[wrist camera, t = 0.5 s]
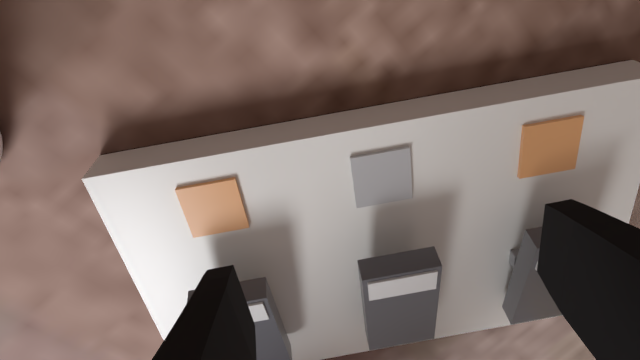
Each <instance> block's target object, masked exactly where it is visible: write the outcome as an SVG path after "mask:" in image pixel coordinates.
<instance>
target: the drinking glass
mask: <svg viewBox="0 0 640 360" xmlns="http://www.w3.org/2000/svg"><path fill="white" fill-rule="evenodd" d="M2 152H3V142H2V136H1V132H0V161H1V158H2Z"/></svg>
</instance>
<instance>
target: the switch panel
mask: <svg viewBox="0 0 640 360" xmlns="http://www.w3.org/2000/svg"><path fill="white" fill-rule="evenodd" d="M82 180H83V182H84V184H85V186H86V188H87V190H88V192H89V194H90V196H91V198H92V200H93V202H94V204H95V206H96V208H97V210H98V212H99V214H100V216H101V218H102V220H103V222H104V224H105V226H106V228H107V230H108V232H109V234H110V236H111V238H112V240H113V242H114V243H115V245H116V247H117V249H118V251H119V253H120V255H121V257H122V259H123V261H124V263H125V265H126V267H127V269H128V271H129V273H130V275H131V277H132V279H133V281H134V283H135V285H136V287H137V289H138V291H139V293H140V295H141V297H142V299H143V301H144V303H145V304H146V306H147V308H148V310H149V312H150V314H151V316H152V318H153V320H154V322H155V324H156V326H157V328H158V330H159V332H160V334H161V336H162V338H163V340H165V338H166V337H167V335H168V333H169V332H170V330H171V329H172V327H173V326H174V324H175V322H176V321H177V319H178V317H179V316H180V314H181V312H182V311H183V309H184V307H185V306H186V304H187V298H188V291H190V290H195V289H196V287H197V285H198V283H199V282H200V280H201V278H202V277H203V275H204V274H205V272H206V271H207V270H209V269H214V268H219V267H224V266H229V265H234V268H235V271H236V273H237V276H238V279H239V282H240V281H245V280H251V279H256V278H262V277H266V279H267V282H268V284H269V287H270V290H271V292H272V295H273V298H274V301H275V303H276V306H277V309H278V311H279V314H280V317H281V320H282V322H283V325H284V328H285V330H286V333H287V336H288V339H289V341H290V344H291V352H292V360H322V359H327V358H333V357H338V356H344V355H349V354H355V353H360V352H366V351H371V350H369V346H368V341H367V337H366V332H365V324H364V315H363V306H362V297H361V289H360V280H359V271H358V262H357V260H361V259H366V258H372V257H377V256H383V255H388V254H394V253H399V252H405V251H410V250H416V249H421V248H427V247H432V246H434V247H435V249H436V252H437V254H438V257H439V259H440V262H441V264H442V273H441V282H440V291H439V300H438V309H437V318H436V327H435V336H434V339H437V338H442V337H447V336H453V335H458V334H464V333H469V332H475V331H480V330H486V329H491V328H497V327H502V326H508V325H511V324H510V322H509V320H508V318H507V316H506V314H505V312H504V310H503V307H502V305H503V302H504V298H505V295H506V292H507V288H508V285H509V282H510V278H511V275H512V272H513V269H514V265H515V262H516V259H517V255H518V252H519V249H520V245H521V242H522V239H523V236H524V232H525V230H526V229H531V228H537V227H542V225H543V217H544V209H545V204H548V203H553V202H559V201H564V200H569V199H573V200H575V201H578V202H581V203H583V204H585V205H588V206H590V207H592V208H595V209H597V210H599V211H601V212H604V213H606V214H608V215H610V216H612V217H615V218H617V219H619V220H621V221H623V222H625V223H628V224H629V221H630V217H631V214H632V210H633V206H634V203H635V199H636V195H637V191H638V188H639V184H640V62H637V61H635V60H628V61H622V62H617V63H611V64H606V65H600V66H594V67H589V68H583V69H578V70H572V71H567V72H561V73H555V74H550V75H544V76H539V77H533V78H528V79H522V80H516V81H511V82H505V83H500V84H494V85H489V86H483V87H477V88H472V89H466V90H461V91H455V92H450V93H444V94H438V95H433V96H427V97H422V98H416V99H411V100H405V101H399V102H394V103H388V104H383V105H377V106H372V107H366V108H360V109H355V110H349V111H344V112H338V113H333V114H327V115H321V116H316V117H310V118H305V119H299V120H294V121H288V122H282V123H277V124H271V125H266V126H260V127H255V128H249V129H243V130H238V131H232V132H227V133H221V134H216V135H210V136H204V137H199V138H193V139H188V140H182V141H177V142H171V143H165V144H160V145H154V146H149V147H143V148H138V149H132V150H126V151H121V152H115V153H110V154H104V155H99V157H98V158H97V159H96V161H95V162H94V163H93V165H92V166H91V167H90V169H89V170H88V171H87V173H86V174H85V175H84V177H83V178H82ZM561 316H562V315H561ZM555 317H557V316H555ZM550 318H551V317H550ZM544 319H546V318H544ZM539 320H540V319H539ZM533 321H535V320H533ZM528 322H529V321H528ZM522 323H524V322H522ZM517 324H518V323H517ZM512 325H513V324H512ZM430 340H431V339H430ZM424 341H426V340H424ZM419 342H420V341H419ZM413 343H415V342H413ZM408 344H409V343H408ZM402 345H404V344H402ZM397 346H398V345H397ZM391 347H393V346H391ZM386 348H387V347H386ZM380 349H382V348H380ZM375 350H377V349H375Z"/></svg>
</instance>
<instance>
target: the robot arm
mask: <svg viewBox="0 0 640 360" xmlns="http://www.w3.org/2000/svg"><path fill="white" fill-rule="evenodd" d="M537 272H538V274H539V276H540V278H541V280H542V281H543V283H544V285H545V287H546V289H547V290H548V292H549V294H550V296H551V297H552V299H553V301H554V302H555V304H556V306H557V307H558V309H559V311H560V312H561V313H562V315H563V316H564V317H565V319H566V320H567V321H568V323H569V324H570V325H571V327H572V328H573V329H574V331H575V332H576V333H577V335H578V336H579V337H580V339H581V340H582V341H583V343H584V344H585V345H586V347H587V348H588V349H589V351H590V352H591V353H592V354H593V356H594V357H595V358H596V360H640V229H639V228H636V227H634V226H632V225H630V224H628V223H625V222H623V221H621V220H619V219H617V218H615V217H612V216H610V215H608V214H606V213H604V212H601V211H599V210H597V209H595V208H592V207H590V206H588V205H585V204H583V203H581V202H578V201H575V200H573V199H569V200H564V201H559V202H553V203H548V204H545V209H544V217H543V225H542V233H541V241H540V250H539V258H538V266H537ZM152 360H256V333H255V324H254V321H253V318H252V315H251V313H250V310H249V307H248V304H247V301H246V299H245V296H244V293H243V290H242V287H241V285H240V282H239V279H238V276H237V273H236V271H235V268H234V265H229V266H224V267H219V268H214V269H209V270H207V271H206V272H205V274H204V275H203V277H202V278H201V280H200V282H199V283H198V285H197V287H196V289H195V290H194V292H193V294H192V295H191V297H190V299H189V301H188V302H187V304H186V306H185V307H184V309H183V311H182V312H181V314H180V316H179V317H178V319H177V321H176V322H175V324H174V326H173V327H172V329H171V330H170V332H169V333H168V335H167V337H166V338H165V340H164V341H163V343H162V345H161V346H160V348H159V349H158V351H157V352H156V354H155V356H154V357H153V359H152Z"/></svg>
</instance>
